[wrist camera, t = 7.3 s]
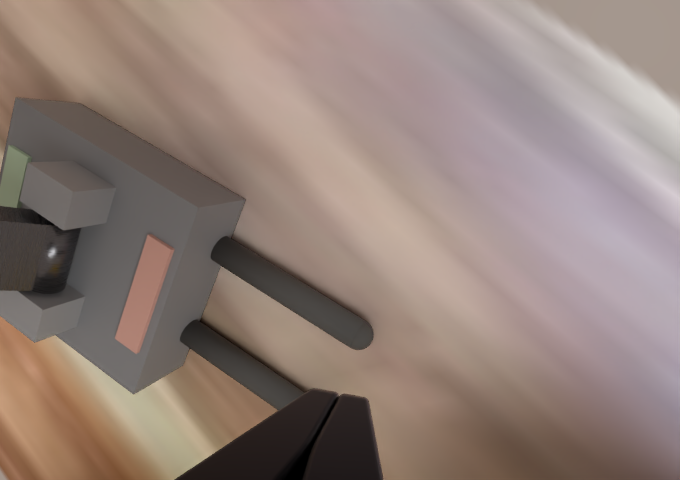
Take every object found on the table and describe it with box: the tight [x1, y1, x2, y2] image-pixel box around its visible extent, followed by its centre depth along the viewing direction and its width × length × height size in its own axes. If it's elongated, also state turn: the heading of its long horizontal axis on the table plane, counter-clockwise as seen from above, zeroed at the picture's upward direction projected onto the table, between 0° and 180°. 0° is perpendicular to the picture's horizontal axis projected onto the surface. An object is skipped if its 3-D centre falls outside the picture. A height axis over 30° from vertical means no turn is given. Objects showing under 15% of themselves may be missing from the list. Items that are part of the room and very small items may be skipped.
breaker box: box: [0, 97, 246, 394], centre depth 22 cm, size 10×9×5 cm
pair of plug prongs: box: [180, 236, 374, 410], centre depth 22 cm, size 8×6×1 cm
